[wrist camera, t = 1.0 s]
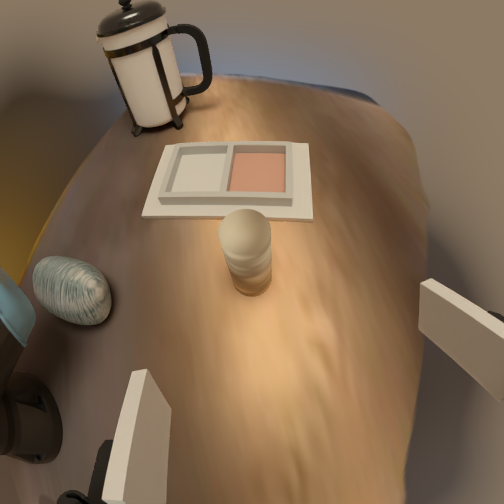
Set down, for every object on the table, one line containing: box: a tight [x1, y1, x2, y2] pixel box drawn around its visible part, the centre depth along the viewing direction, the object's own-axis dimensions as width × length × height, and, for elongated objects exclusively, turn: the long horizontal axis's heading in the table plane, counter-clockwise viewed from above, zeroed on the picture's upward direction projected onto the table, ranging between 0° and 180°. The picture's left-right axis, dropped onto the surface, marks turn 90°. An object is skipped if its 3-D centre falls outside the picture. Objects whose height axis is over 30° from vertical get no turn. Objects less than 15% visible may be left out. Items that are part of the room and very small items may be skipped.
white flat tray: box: [142, 141, 313, 222], centre depth 45 cm, size 26×16×3 cm, turn 86°
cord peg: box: [218, 209, 272, 296], centre depth 33 cm, size 5×5×12 cm
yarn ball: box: [32, 256, 111, 325], centre depth 35 cm, size 14×10×10 cm
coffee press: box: [96, 0, 212, 136], centre depth 43 cm, size 17×16×30 cm
